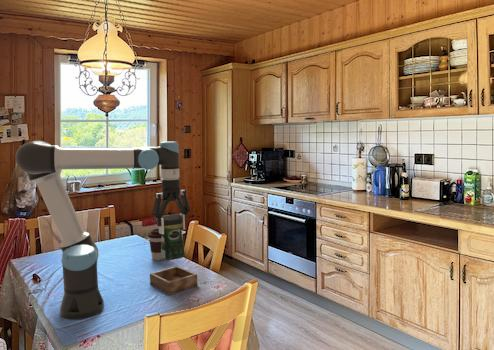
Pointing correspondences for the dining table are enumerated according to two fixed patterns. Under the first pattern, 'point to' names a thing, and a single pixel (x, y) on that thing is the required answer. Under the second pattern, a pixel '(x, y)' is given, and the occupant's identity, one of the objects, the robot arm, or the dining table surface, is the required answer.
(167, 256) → the coffee jar
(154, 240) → the coffee cup
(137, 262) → the dining table surface
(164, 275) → the walnut caddy
